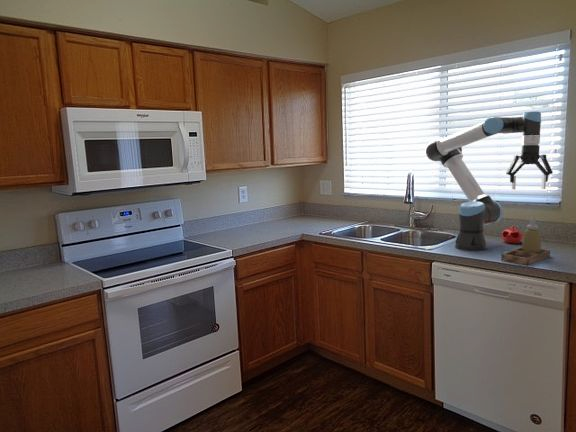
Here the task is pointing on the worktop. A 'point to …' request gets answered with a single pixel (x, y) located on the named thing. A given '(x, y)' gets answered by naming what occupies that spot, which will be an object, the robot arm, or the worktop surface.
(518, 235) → the pomegranate
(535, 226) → the squeeze bottle
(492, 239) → the worktop surface
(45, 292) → the worktop surface
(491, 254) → the worktop surface
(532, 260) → the organizer
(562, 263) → the worktop surface
